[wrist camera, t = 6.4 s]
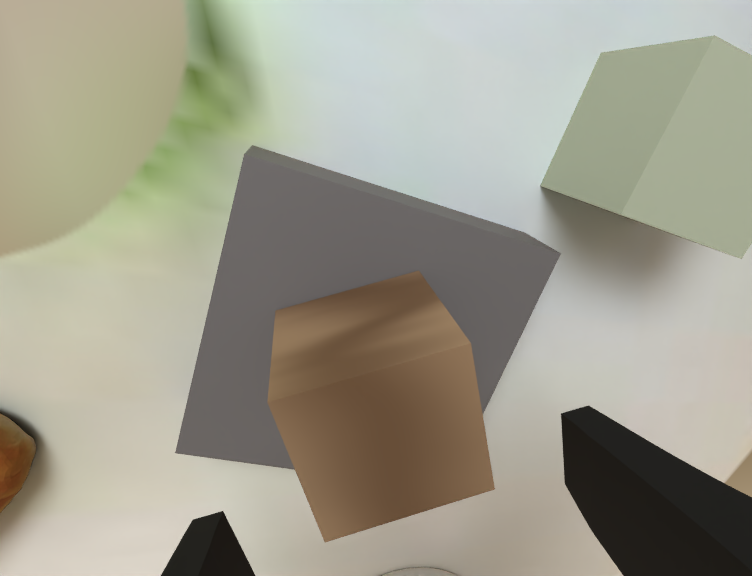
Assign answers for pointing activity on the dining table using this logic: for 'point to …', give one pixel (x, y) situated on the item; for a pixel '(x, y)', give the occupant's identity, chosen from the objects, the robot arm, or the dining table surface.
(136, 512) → the dining table surface
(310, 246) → the charcoal slab
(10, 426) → the pastry
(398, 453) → the walnut cube
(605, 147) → the sage green cube
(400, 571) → the ramekin
